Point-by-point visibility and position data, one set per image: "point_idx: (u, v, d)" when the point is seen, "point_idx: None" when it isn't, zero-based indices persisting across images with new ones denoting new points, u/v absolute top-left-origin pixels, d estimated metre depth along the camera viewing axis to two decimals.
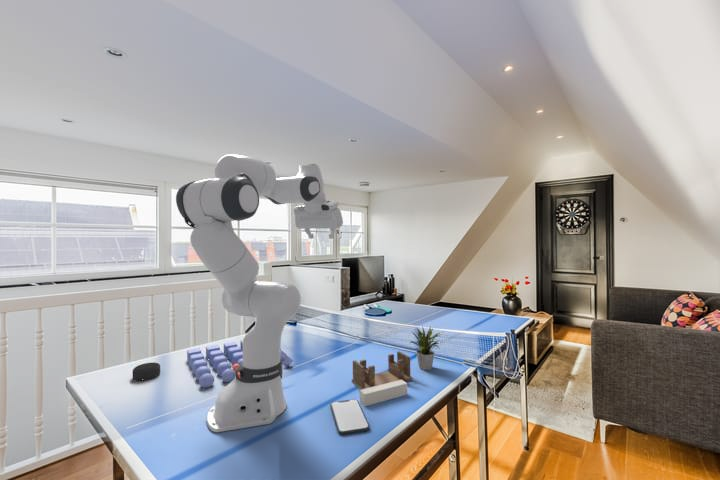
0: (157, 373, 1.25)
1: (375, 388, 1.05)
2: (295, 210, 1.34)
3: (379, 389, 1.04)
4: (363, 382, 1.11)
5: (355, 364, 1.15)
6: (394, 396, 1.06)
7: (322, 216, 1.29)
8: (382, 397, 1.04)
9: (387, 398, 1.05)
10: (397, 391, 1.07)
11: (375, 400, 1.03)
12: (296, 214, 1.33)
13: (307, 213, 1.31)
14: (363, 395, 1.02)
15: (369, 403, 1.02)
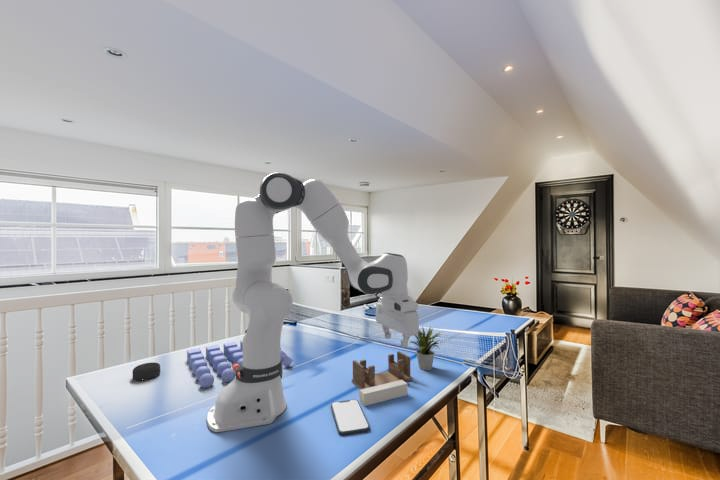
0: (157, 373, 1.25)
1: (375, 388, 1.05)
2: (378, 301, 1.19)
3: (379, 389, 1.04)
4: (363, 382, 1.11)
5: (355, 364, 1.15)
6: (394, 396, 1.06)
7: (396, 316, 1.07)
8: (382, 397, 1.04)
9: (387, 398, 1.05)
10: (397, 392, 1.07)
11: (375, 399, 1.03)
12: (377, 306, 1.17)
13: (385, 308, 1.12)
14: (363, 394, 1.02)
15: (369, 403, 1.02)
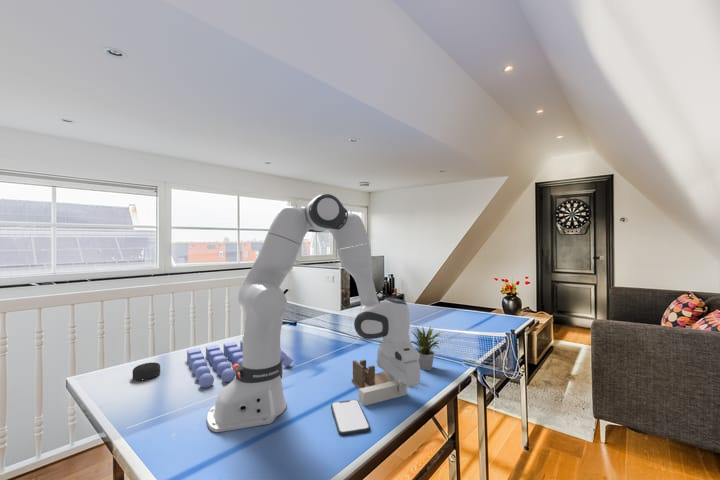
0: (157, 373, 1.25)
1: (375, 387, 1.05)
2: (380, 344, 1.17)
3: (378, 388, 1.05)
4: (363, 382, 1.11)
5: (355, 364, 1.15)
6: (394, 395, 1.06)
7: (398, 364, 1.05)
8: (382, 396, 1.04)
9: (386, 397, 1.05)
10: (397, 391, 1.07)
11: (374, 398, 1.03)
12: (378, 350, 1.15)
13: None
14: (362, 393, 1.02)
15: (368, 402, 1.02)
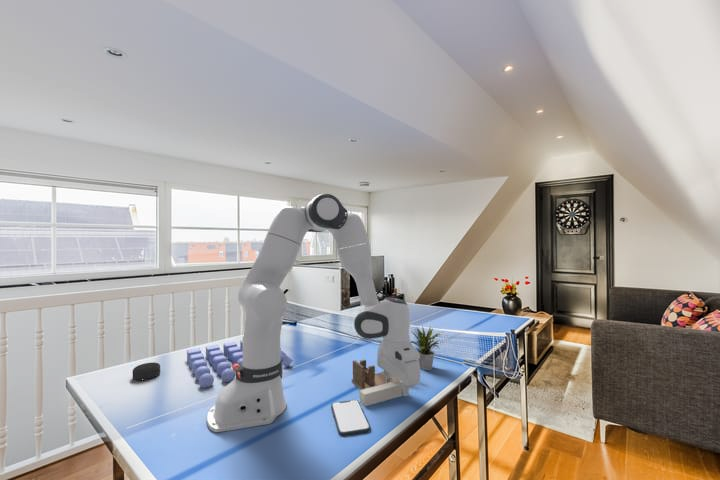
0: (157, 373, 1.25)
1: (375, 388, 1.05)
2: (380, 344, 1.17)
3: (379, 389, 1.04)
4: (363, 382, 1.11)
5: (355, 364, 1.15)
6: (394, 396, 1.06)
7: (398, 364, 1.05)
8: (382, 397, 1.04)
9: (387, 398, 1.05)
10: (397, 391, 1.07)
11: (375, 400, 1.03)
12: (378, 349, 1.15)
13: None
14: (363, 395, 1.02)
15: (369, 403, 1.02)
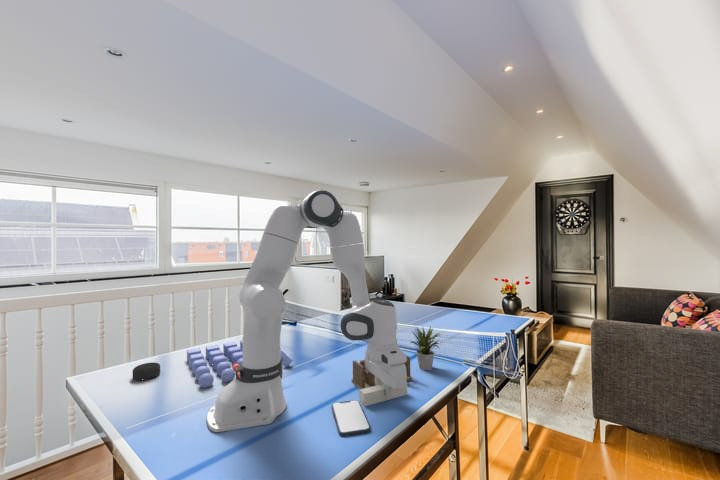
0: (157, 373, 1.25)
1: (375, 387, 1.05)
2: (368, 347, 1.15)
3: (379, 389, 1.04)
4: (363, 382, 1.11)
5: (355, 364, 1.15)
6: (394, 396, 1.06)
7: (384, 367, 1.03)
8: (382, 397, 1.04)
9: (387, 398, 1.05)
10: (397, 391, 1.07)
11: (375, 399, 1.03)
12: (366, 352, 1.13)
13: None
14: (363, 394, 1.02)
15: (369, 403, 1.02)
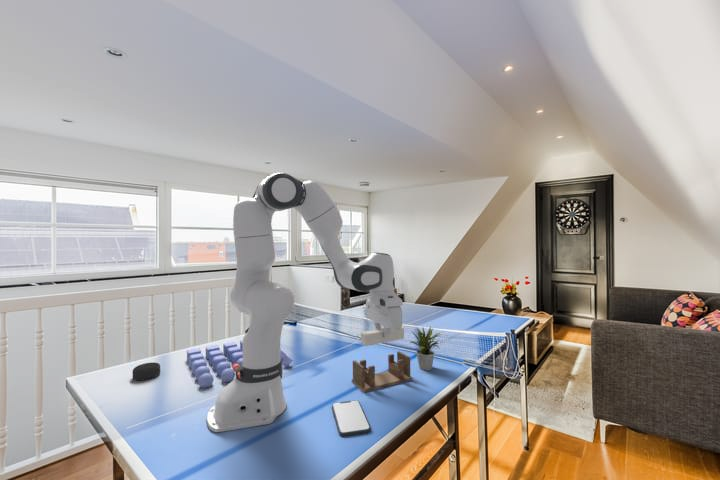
0: (157, 373, 1.25)
1: (375, 331, 1.17)
2: (368, 298, 1.26)
3: (378, 331, 1.16)
4: (363, 382, 1.11)
5: (355, 364, 1.15)
6: (392, 338, 1.18)
7: (382, 311, 1.15)
8: (381, 338, 1.16)
9: (386, 340, 1.17)
10: (395, 334, 1.19)
11: (375, 340, 1.15)
12: (366, 302, 1.25)
13: (373, 304, 1.20)
14: (364, 335, 1.14)
15: (369, 343, 1.14)
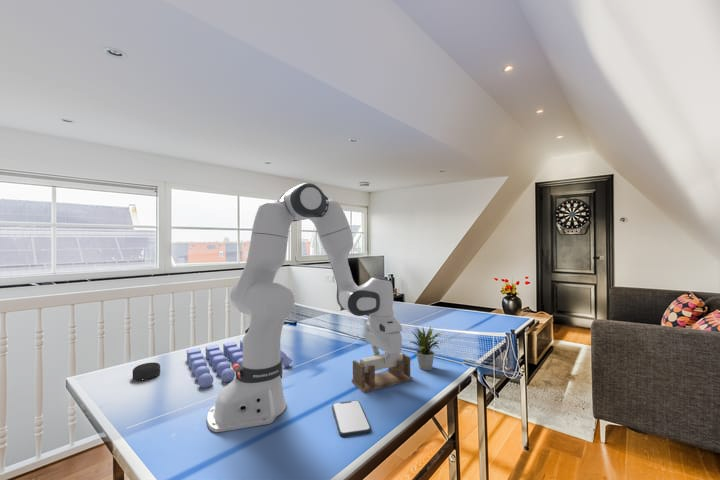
0: (157, 373, 1.25)
1: (374, 357, 1.18)
2: (367, 320, 1.27)
3: (378, 358, 1.17)
4: (363, 382, 1.11)
5: (355, 364, 1.15)
6: (391, 364, 1.19)
7: (382, 336, 1.15)
8: (380, 365, 1.17)
9: (385, 366, 1.18)
10: (394, 361, 1.20)
11: None
12: (365, 325, 1.26)
13: None
14: (363, 362, 1.14)
15: None
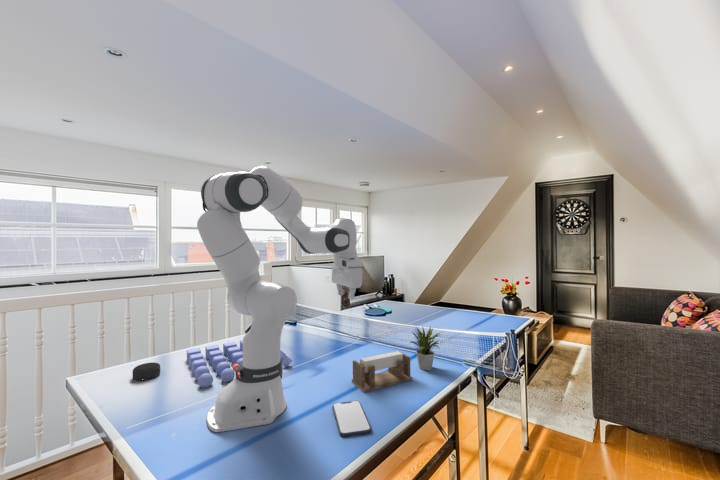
0: (157, 373, 1.25)
1: (374, 357, 1.18)
2: None
3: (378, 358, 1.17)
4: (363, 382, 1.11)
5: (355, 364, 1.15)
6: (391, 364, 1.19)
7: (345, 273, 1.23)
8: (380, 365, 1.17)
9: (385, 366, 1.18)
10: (394, 361, 1.20)
11: None
12: (332, 267, 1.33)
13: None
14: (363, 362, 1.14)
15: None
